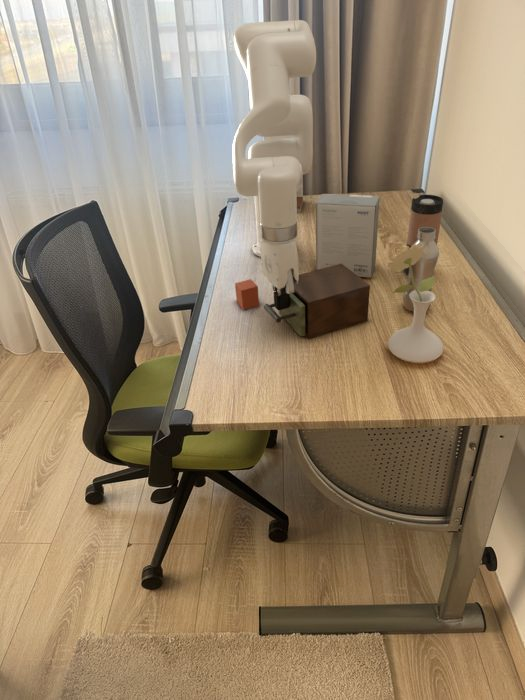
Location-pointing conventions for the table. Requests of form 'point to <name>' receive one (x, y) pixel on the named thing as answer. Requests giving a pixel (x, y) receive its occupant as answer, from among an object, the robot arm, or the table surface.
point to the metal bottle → (422, 263)
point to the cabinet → (333, 299)
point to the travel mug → (424, 217)
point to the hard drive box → (347, 232)
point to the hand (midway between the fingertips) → (282, 307)
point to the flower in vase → (415, 314)
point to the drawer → (292, 314)
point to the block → (247, 294)
